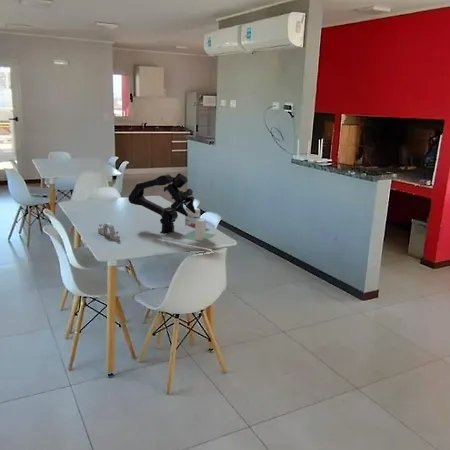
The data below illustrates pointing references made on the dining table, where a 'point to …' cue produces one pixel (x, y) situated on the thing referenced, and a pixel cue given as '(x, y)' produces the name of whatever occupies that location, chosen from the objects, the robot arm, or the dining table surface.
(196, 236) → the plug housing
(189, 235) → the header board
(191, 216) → the ink box
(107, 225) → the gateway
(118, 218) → the dining table surface
